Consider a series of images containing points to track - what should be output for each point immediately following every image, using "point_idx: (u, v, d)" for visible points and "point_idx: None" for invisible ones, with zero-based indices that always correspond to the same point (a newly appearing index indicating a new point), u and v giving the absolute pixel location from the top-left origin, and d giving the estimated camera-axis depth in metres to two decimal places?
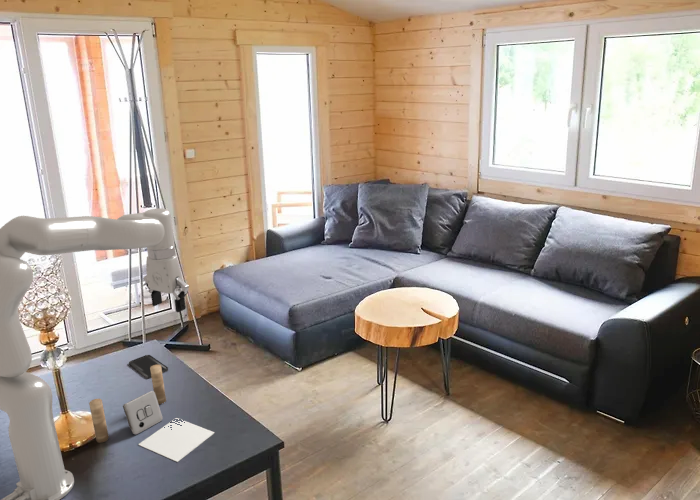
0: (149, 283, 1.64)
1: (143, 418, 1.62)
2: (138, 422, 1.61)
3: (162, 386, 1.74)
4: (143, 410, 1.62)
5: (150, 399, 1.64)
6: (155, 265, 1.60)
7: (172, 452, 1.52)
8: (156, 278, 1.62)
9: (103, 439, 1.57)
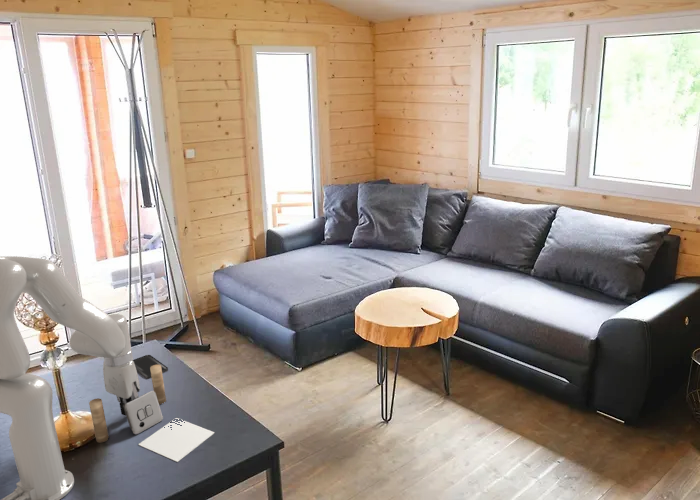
0: (106, 387, 1.64)
1: (143, 418, 1.62)
2: (139, 422, 1.61)
3: (162, 386, 1.74)
4: (143, 410, 1.62)
5: (150, 399, 1.64)
6: (111, 371, 1.60)
7: (172, 452, 1.52)
8: (113, 383, 1.61)
9: (103, 439, 1.57)
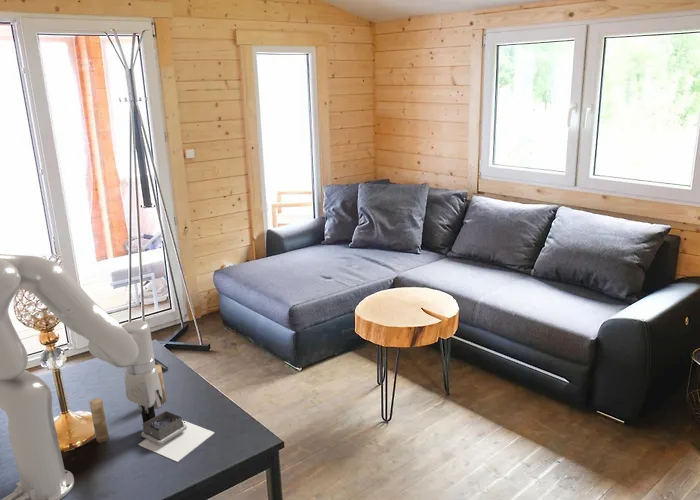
0: (128, 395, 1.59)
1: None
2: None
3: (162, 386, 1.74)
4: None
5: None
6: (134, 379, 1.55)
7: (172, 452, 1.52)
8: (135, 391, 1.57)
9: (103, 439, 1.57)
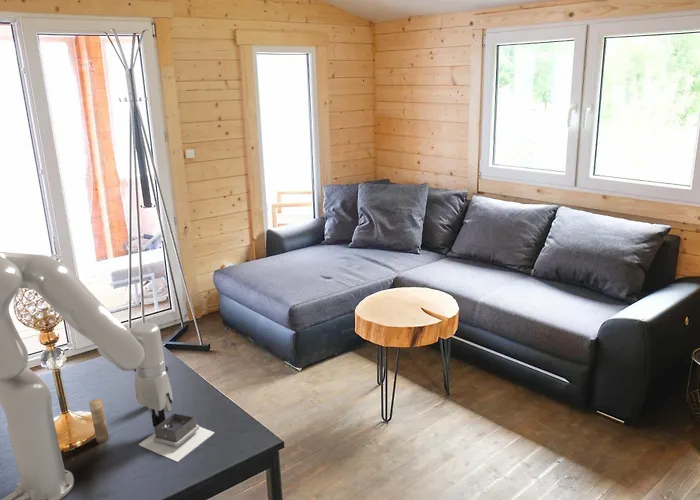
0: (138, 398, 1.57)
1: None
2: None
3: None
4: None
5: None
6: (144, 382, 1.54)
7: (172, 452, 1.52)
8: (145, 394, 1.55)
9: (103, 439, 1.57)
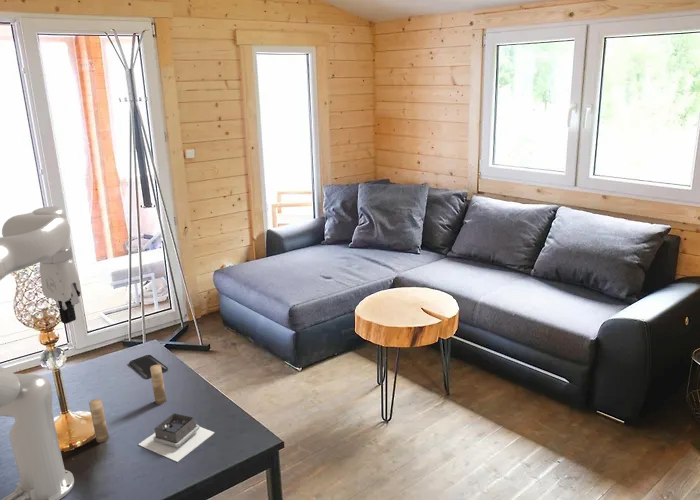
0: (44, 290, 1.47)
1: None
2: None
3: (162, 386, 1.74)
4: None
5: None
6: (48, 270, 1.43)
7: (172, 452, 1.52)
8: (50, 284, 1.44)
9: (103, 439, 1.57)
